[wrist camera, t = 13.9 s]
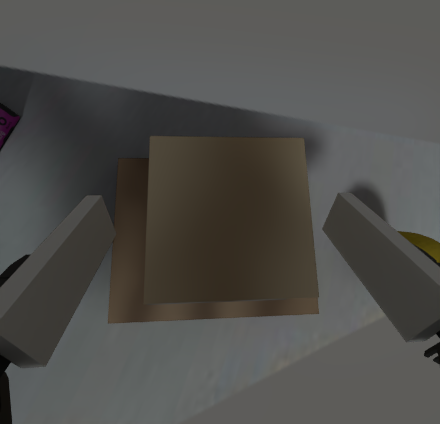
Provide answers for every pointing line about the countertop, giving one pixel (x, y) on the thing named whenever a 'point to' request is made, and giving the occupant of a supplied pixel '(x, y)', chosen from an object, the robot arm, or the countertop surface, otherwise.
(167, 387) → the countertop surface
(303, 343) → the countertop surface
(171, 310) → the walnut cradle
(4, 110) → the candy bar box
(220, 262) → the maple post
